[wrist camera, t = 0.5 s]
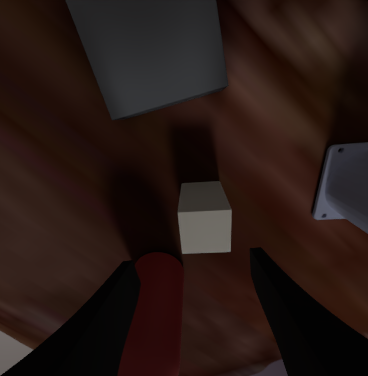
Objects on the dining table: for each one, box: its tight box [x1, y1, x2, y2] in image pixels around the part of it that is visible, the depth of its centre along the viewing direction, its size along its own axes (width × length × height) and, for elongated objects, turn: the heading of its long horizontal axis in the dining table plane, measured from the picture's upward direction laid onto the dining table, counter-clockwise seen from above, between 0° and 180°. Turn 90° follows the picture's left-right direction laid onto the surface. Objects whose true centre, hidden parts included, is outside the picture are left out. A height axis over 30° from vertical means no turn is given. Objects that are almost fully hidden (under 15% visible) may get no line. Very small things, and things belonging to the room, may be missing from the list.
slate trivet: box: [66, 0, 228, 120], centre depth 13 cm, size 9×9×3 cm
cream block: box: [178, 181, 232, 254], centre depth 17 cm, size 4×4×6 cm
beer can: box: [117, 252, 184, 376], centre depth 18 cm, size 7×7×12 cm
